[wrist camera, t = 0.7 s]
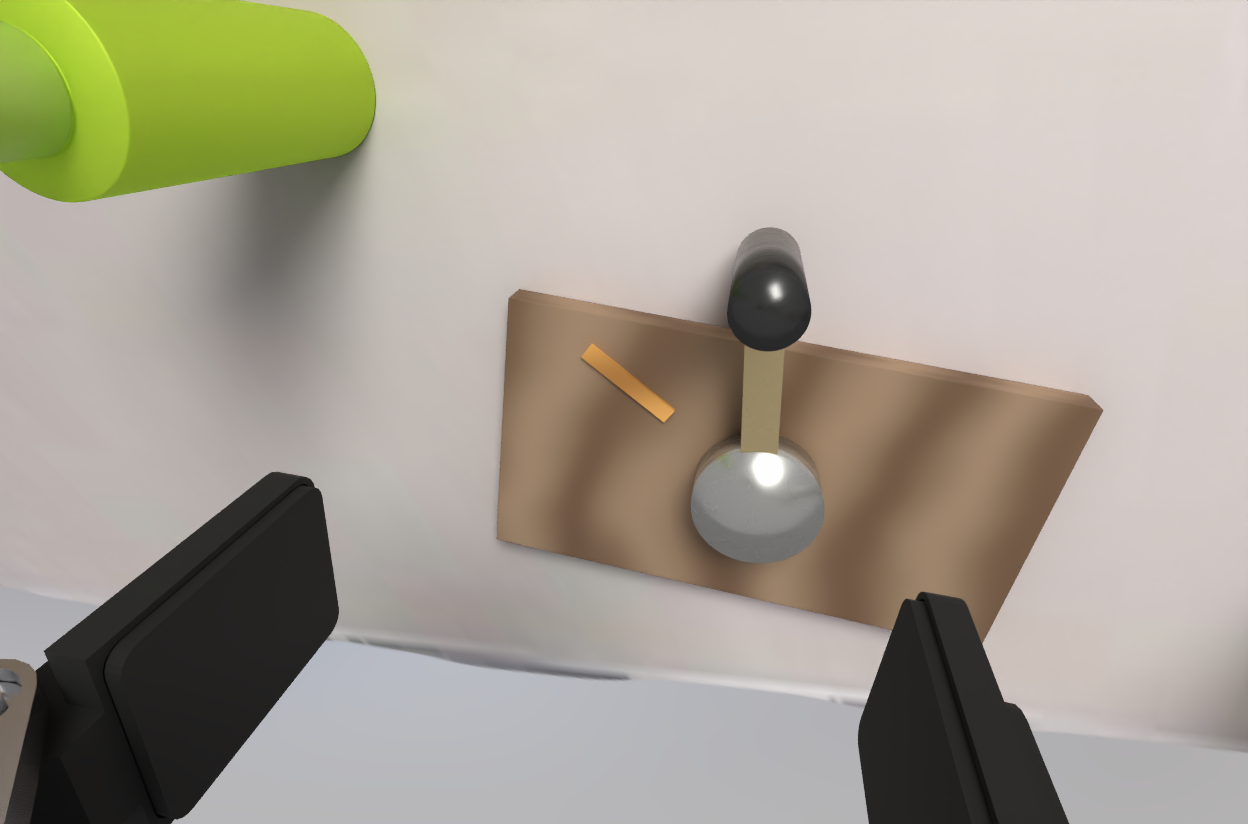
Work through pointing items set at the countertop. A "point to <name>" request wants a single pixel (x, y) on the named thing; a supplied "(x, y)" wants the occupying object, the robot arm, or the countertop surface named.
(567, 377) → the brown flat rectangular board
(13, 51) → the soap dispenser
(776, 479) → the ice cream scoop
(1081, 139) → the countertop surface
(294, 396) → the countertop surface
